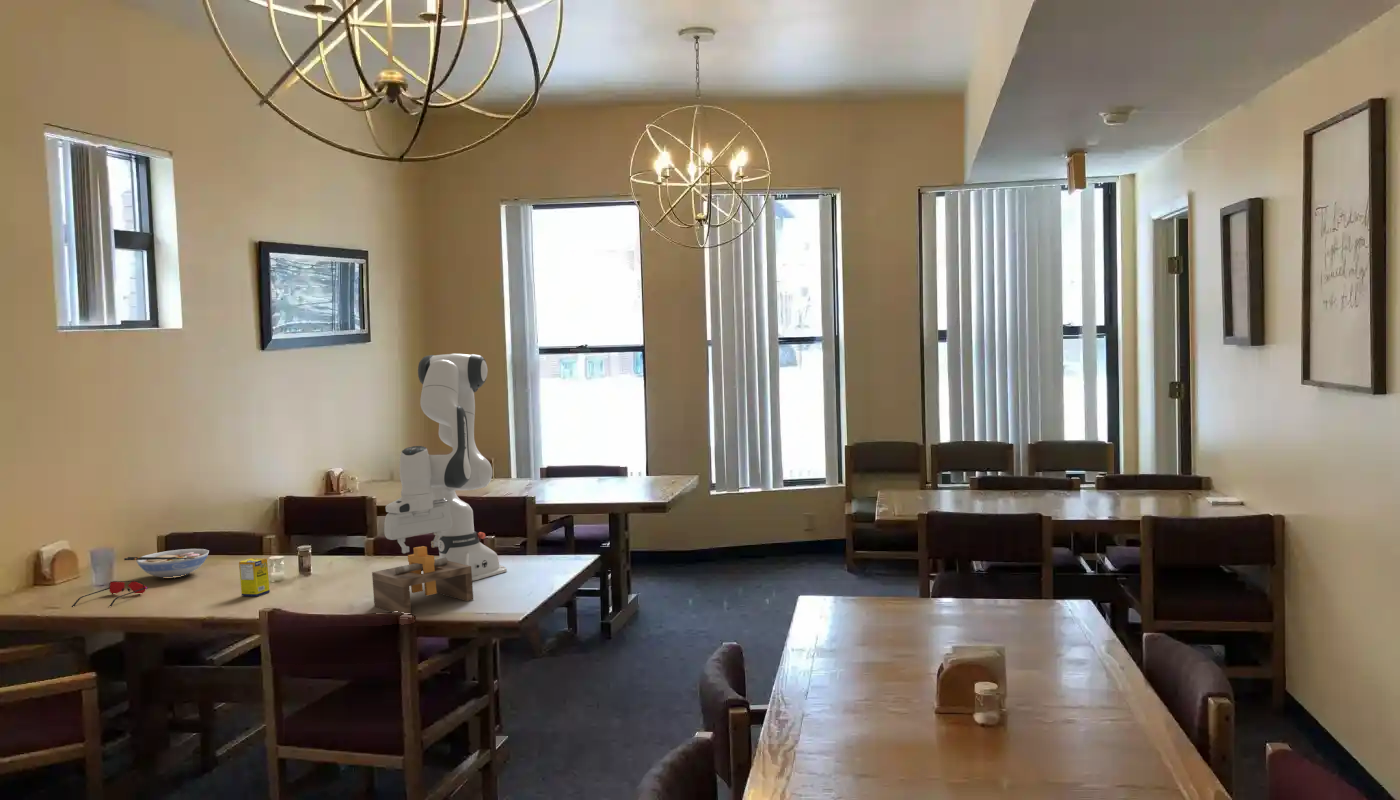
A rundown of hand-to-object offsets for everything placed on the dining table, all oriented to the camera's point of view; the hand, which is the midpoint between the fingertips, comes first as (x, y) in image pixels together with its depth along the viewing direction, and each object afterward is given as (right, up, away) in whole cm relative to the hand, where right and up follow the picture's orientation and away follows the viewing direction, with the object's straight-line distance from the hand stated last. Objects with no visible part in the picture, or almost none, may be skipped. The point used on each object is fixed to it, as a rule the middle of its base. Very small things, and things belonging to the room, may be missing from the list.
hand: (420, 550), depth 319 cm
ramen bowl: (-99, -17, +57) cm, 115 cm away
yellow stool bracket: (+1, -13, +1) cm, 13 cm away
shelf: (+1, -16, +1) cm, 16 cm away
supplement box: (-57, -17, +23) cm, 64 cm away
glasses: (-103, -20, +25) cm, 108 cm away
